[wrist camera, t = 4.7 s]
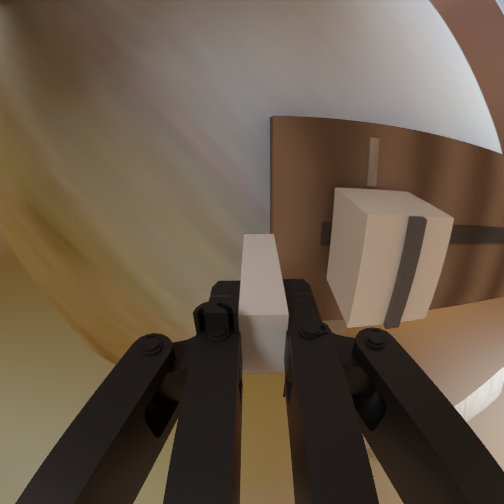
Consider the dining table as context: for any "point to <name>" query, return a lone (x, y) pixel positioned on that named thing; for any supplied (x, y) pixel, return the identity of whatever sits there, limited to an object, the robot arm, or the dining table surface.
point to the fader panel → (385, 178)
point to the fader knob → (385, 255)
